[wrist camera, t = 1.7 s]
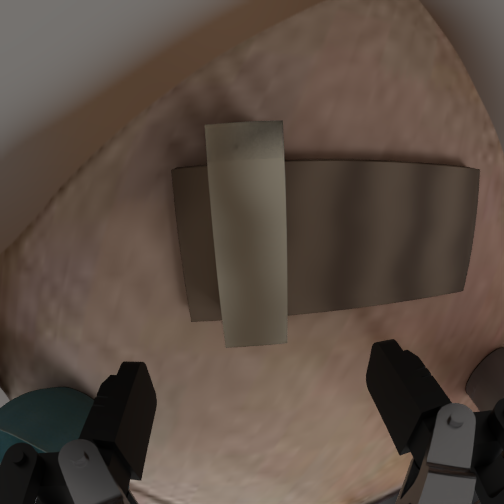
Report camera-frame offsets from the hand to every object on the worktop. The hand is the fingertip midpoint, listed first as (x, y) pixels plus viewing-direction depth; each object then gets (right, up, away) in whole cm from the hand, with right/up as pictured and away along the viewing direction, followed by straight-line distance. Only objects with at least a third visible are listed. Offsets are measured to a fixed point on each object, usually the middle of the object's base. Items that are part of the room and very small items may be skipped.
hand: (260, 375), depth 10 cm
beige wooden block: (-1, +6, +13) cm, 15 cm away
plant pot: (-22, -16, +21) cm, 35 cm away
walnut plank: (+7, +6, +15) cm, 17 cm away
